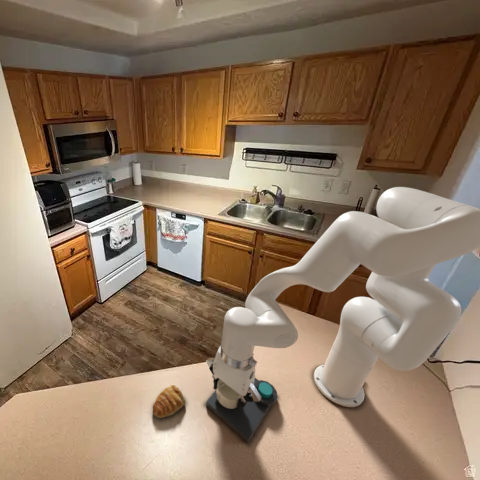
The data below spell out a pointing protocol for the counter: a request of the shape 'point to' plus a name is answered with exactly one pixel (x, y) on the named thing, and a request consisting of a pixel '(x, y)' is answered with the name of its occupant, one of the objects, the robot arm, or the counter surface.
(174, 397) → the pastry
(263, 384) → the button
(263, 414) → the dark grey flat block
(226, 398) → the bowl
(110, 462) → the counter surface
